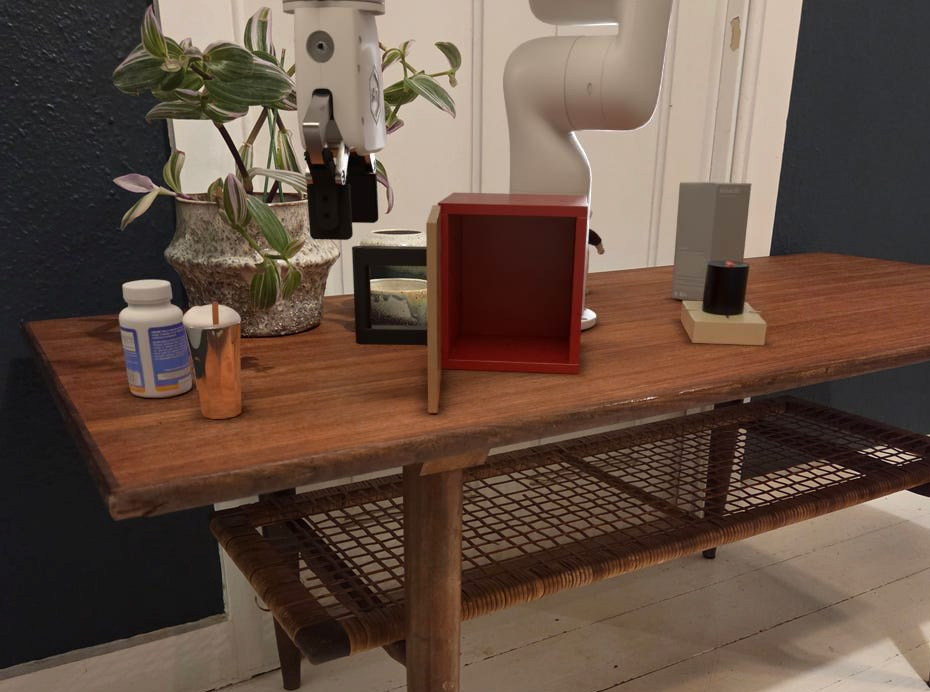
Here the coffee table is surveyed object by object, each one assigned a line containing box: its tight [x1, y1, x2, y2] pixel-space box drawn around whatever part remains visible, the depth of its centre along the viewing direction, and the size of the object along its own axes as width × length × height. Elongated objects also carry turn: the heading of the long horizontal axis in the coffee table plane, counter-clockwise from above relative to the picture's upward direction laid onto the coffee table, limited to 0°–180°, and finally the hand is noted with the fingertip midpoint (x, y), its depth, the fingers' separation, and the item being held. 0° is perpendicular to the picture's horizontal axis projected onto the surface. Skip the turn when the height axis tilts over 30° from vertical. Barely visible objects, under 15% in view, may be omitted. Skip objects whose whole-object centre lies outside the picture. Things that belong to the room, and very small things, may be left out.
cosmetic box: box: [670, 181, 752, 301], centre depth 121 cm, size 8×7×16 cm
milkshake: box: [182, 301, 242, 420], centre depth 72 cm, size 4×5×10 cm
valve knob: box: [702, 261, 750, 315], centre depth 103 cm, size 5×5×6 cm
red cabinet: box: [437, 192, 588, 375], centre depth 90 cm, size 12×14×16 cm
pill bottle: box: [118, 279, 193, 399], centre depth 79 cm, size 5×5×10 cm
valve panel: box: [680, 300, 768, 346], centre depth 105 cm, size 12×9×3 cm
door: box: [351, 204, 443, 414], centre depth 78 cm, size 7×14×16 cm, turn 1°
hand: (346, 230), depth 72 cm, fingers open, 9 cm apart
